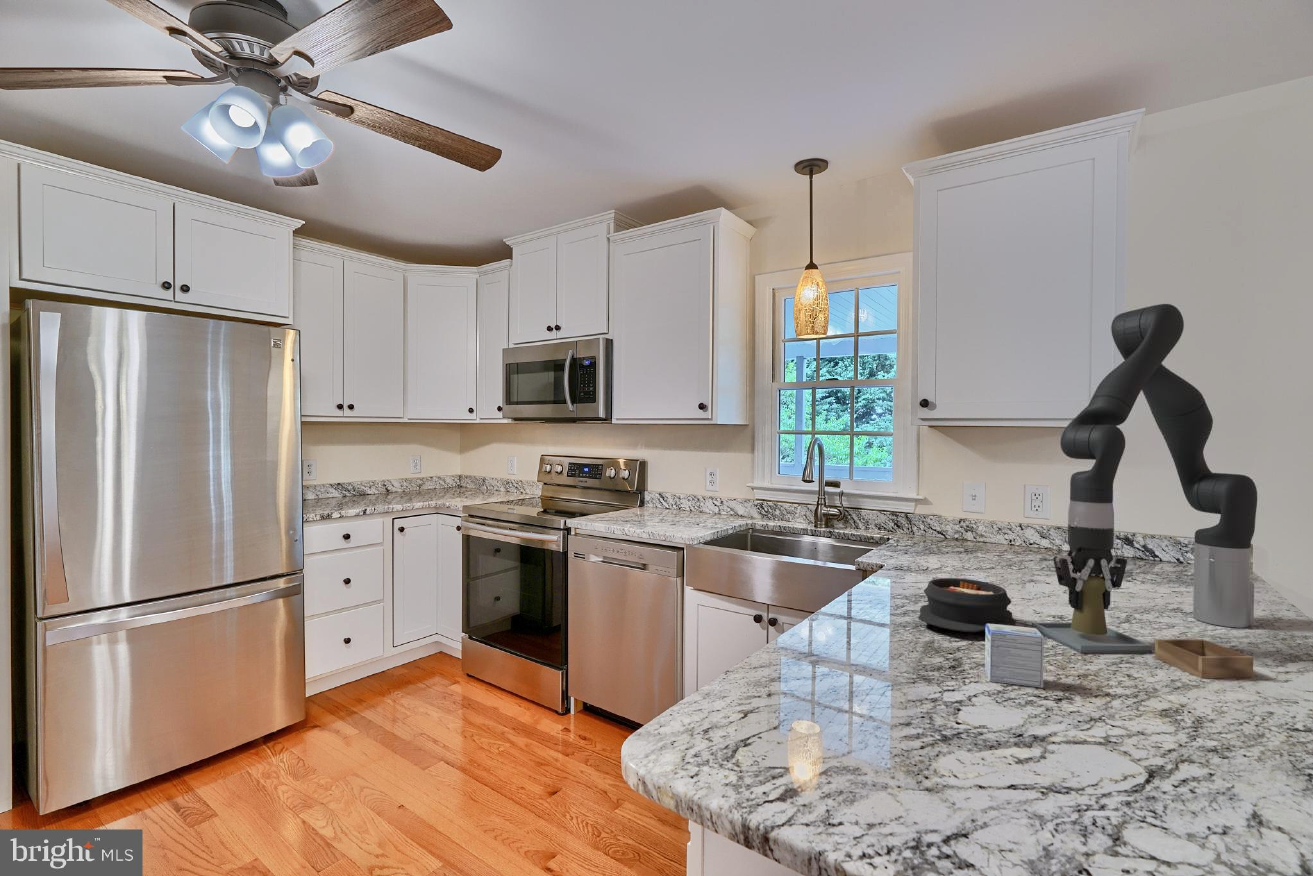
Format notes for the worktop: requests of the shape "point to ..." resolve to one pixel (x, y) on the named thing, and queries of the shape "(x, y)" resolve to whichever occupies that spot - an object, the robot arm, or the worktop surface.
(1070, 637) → the tray
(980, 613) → the casserole
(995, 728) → the worktop surface
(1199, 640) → the holder
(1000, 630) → the medicine box
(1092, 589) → the cork
